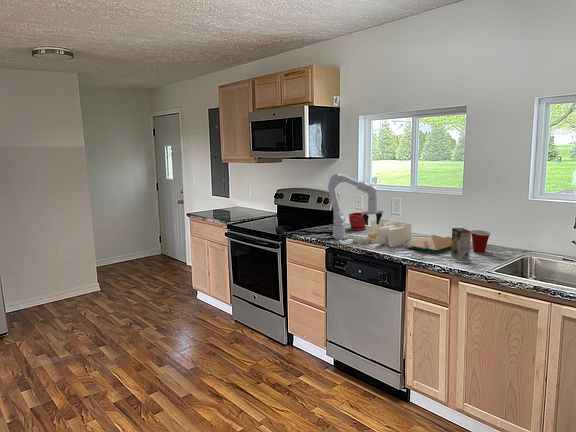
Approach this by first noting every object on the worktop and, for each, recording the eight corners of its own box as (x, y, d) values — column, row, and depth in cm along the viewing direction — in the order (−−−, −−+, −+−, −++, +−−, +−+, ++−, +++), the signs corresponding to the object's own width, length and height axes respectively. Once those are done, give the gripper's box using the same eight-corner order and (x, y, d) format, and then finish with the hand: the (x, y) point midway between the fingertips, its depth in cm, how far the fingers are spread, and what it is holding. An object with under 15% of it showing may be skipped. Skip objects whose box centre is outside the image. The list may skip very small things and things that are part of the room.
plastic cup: (486, 255, 236) (487, 234, 234) (466, 252, 243) (467, 232, 241) (492, 251, 244) (493, 231, 242) (473, 248, 251) (474, 229, 249)
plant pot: (353, 227, 325) (353, 211, 323) (369, 228, 318) (369, 213, 315) (345, 230, 315) (345, 214, 313) (361, 231, 307) (361, 215, 305)
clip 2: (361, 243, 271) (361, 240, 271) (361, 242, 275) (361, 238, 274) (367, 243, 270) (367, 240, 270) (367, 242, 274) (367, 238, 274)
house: (400, 249, 256) (400, 236, 255) (432, 240, 276) (433, 228, 274) (433, 256, 238) (433, 242, 237) (465, 246, 258) (465, 233, 256)
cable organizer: (389, 248, 257) (389, 230, 255) (377, 245, 266) (377, 227, 264) (406, 245, 265) (406, 226, 263) (394, 242, 274) (394, 224, 272)
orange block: (367, 240, 281) (367, 232, 280) (372, 239, 282) (372, 232, 281) (370, 242, 275) (370, 234, 274) (376, 241, 276) (376, 234, 275)
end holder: (363, 240, 280) (363, 236, 280) (376, 239, 282) (376, 235, 281) (369, 243, 271) (369, 239, 271) (382, 242, 273) (382, 238, 273)
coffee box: (450, 256, 236) (451, 228, 234) (461, 255, 237) (462, 227, 234) (458, 260, 227) (459, 231, 225) (469, 259, 228) (471, 230, 225)
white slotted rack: (411, 239, 281) (411, 223, 279) (401, 242, 274) (401, 225, 272) (380, 233, 300) (381, 218, 298) (370, 236, 293) (371, 220, 291)
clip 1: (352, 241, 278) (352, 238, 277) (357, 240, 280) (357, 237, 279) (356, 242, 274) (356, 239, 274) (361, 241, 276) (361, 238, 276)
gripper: (364, 206, 273) (364, 226, 276) (385, 204, 276) (384, 225, 279) (360, 204, 280) (360, 224, 283) (380, 203, 283) (380, 223, 285)
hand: (372, 224), depth 281 cm, fingers open, 7 cm apart
